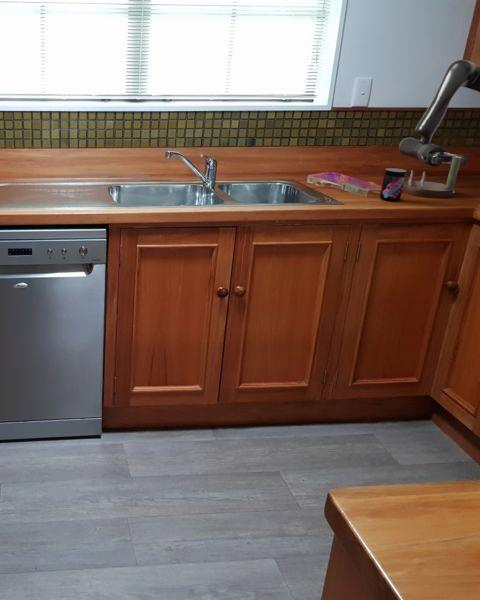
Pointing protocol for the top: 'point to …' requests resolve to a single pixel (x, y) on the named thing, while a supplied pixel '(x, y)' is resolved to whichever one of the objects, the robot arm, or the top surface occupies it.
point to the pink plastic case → (344, 182)
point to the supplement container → (392, 184)
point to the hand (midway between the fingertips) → (452, 162)
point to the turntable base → (428, 194)
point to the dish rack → (432, 186)
